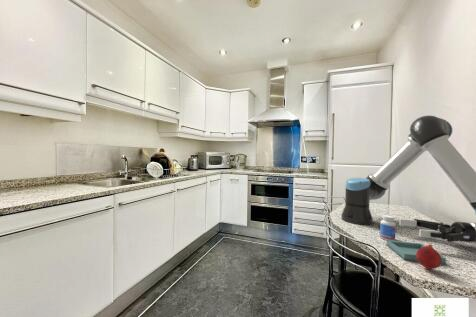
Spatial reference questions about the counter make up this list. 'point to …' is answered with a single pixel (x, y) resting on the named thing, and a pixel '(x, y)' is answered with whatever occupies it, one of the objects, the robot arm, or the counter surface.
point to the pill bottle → (387, 228)
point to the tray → (408, 250)
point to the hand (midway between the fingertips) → (408, 227)
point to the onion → (429, 257)
